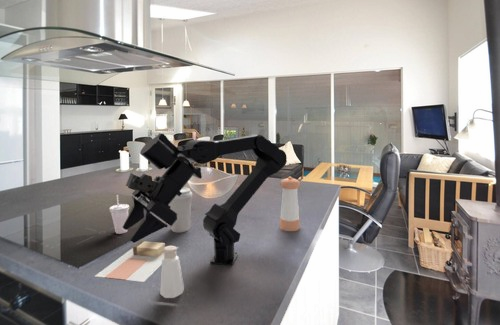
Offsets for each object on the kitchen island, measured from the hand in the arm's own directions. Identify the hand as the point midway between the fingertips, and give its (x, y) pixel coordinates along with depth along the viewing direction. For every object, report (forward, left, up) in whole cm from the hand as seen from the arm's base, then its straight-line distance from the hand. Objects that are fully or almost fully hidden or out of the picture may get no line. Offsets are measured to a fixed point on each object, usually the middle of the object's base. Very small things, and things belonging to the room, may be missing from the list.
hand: (127, 234), depth 62 cm
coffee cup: (-36, -5, -14) cm, 39 cm away
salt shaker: (-45, +34, -14) cm, 58 cm away
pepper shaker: (-1, +10, -14) cm, 17 cm away
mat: (-12, -6, -14) cm, 19 cm away
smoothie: (-30, -25, -14) cm, 41 cm away
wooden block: (-17, -6, -13) cm, 22 cm away
